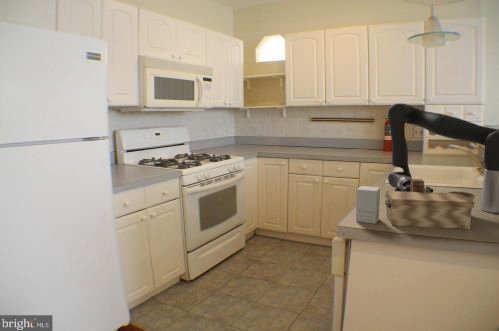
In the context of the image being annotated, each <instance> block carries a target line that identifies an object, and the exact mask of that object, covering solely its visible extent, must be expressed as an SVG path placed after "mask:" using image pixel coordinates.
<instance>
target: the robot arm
mask: <svg viewBox="0 0 499 331" xmlns="http://www.w3.org/2000/svg"><path fill="white" fill-rule="evenodd" d="M387 116H388V123H389V127H390V137H391V164H392V166H393V167H395V168H400V169H402V171H392V172H390V173H389V174H388V177H387V182H388V184H389V185H390V186H391V187H393V188H394V190H393V191H398V192H410V186H411V185H410V183H411V179H413V177H412V174H411V170H410V167H409V149H408V148H409V147H408V144H407V139H406V136H405V135H406V134H405V125H406V124H409V125H413V126H418V127H420V128H422V129H425V131H426V130H427V131H429V132H430V133H433V134H435V135H437V136H440V137H444V138H447V139H452V140H458V141H464V142H471V143H474V144H475V143H476V144H479V145H481V146H484V152H483V154H484V156H483V164H484V167H483V178H482V179H483V180H482V188H481V197H480V198H481V200H480V211H484V212H487V213H492V214H499V129H498V128H494V127H488V126H487V127H486V126H483V125H480V124H479V125H478V124H476V123H473V122H472V121H471V122H470V121H467V120H465V119H462V118H459V117H456V116H451V115H448V114H444V113H438V112H432V111H426V110H422V109H420V108H417V107H414V106H412V105H409V104H407V103H395V104H392V105H391V106H390V107H389V109H388V110H387ZM424 192H428V193H434V189H433V188H431V187H429V186H426V187H424Z"/></svg>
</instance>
